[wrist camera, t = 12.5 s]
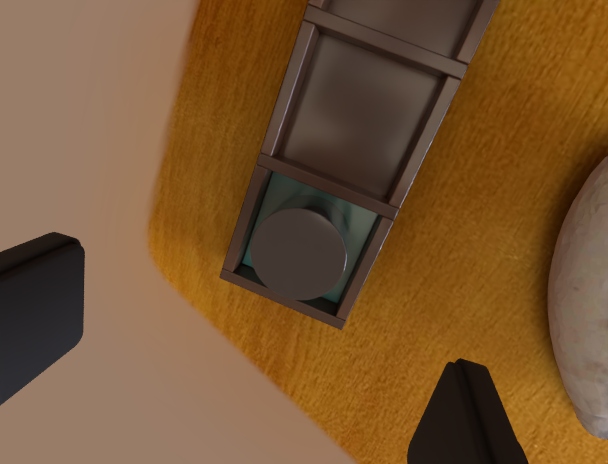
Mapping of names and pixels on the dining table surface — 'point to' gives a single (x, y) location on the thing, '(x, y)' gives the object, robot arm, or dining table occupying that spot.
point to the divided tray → (356, 125)
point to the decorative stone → (583, 302)
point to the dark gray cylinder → (301, 247)
